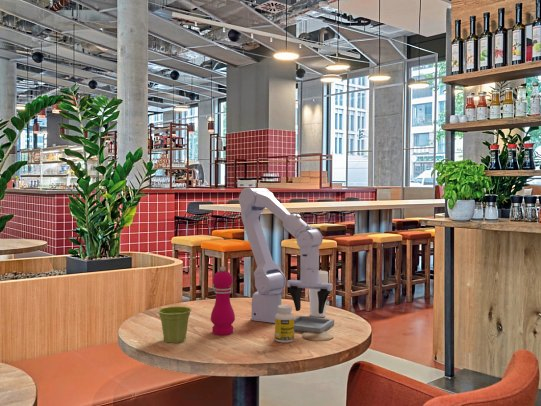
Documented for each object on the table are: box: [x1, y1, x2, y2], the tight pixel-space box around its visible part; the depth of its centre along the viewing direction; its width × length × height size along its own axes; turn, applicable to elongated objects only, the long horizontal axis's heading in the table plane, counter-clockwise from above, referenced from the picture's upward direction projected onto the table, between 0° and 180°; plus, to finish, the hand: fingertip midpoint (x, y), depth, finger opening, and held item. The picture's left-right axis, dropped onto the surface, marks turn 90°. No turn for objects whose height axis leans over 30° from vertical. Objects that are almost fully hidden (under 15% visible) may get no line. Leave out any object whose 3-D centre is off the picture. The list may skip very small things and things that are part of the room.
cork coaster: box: [302, 331, 334, 342], centre depth 154 cm, size 9×9×1 cm
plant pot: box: [157, 306, 192, 344], centre depth 150 cm, size 9×9×9 cm
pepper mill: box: [210, 265, 236, 336], centre depth 158 cm, size 7×7×20 cm
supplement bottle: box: [274, 304, 295, 344], centre depth 150 cm, size 5×5×10 cm
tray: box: [294, 314, 335, 333], centre depth 164 cm, size 12×12×2 cm
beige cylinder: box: [308, 270, 329, 318], centre depth 179 cm, size 7×7×15 cm
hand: (309, 311), depth 164 cm, fingers open, 7 cm apart
